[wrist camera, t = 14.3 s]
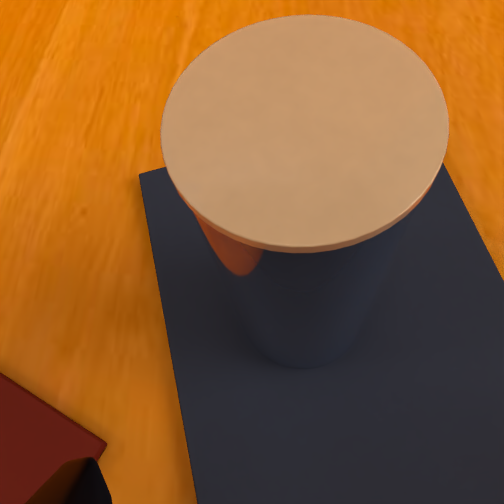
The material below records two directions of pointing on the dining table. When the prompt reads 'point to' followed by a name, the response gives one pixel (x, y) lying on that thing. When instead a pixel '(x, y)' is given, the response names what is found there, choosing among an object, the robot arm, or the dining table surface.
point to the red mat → (36, 442)
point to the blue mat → (343, 374)
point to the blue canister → (304, 172)
